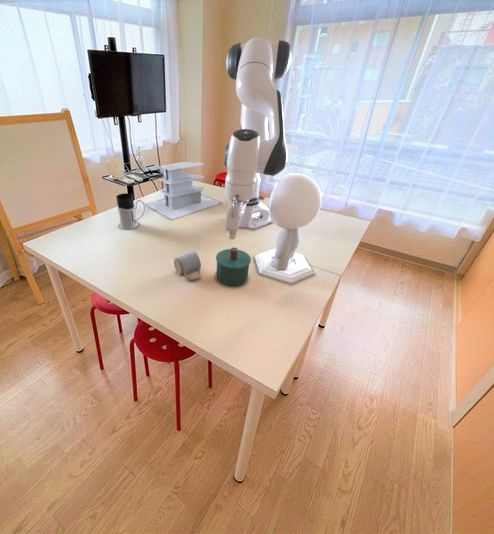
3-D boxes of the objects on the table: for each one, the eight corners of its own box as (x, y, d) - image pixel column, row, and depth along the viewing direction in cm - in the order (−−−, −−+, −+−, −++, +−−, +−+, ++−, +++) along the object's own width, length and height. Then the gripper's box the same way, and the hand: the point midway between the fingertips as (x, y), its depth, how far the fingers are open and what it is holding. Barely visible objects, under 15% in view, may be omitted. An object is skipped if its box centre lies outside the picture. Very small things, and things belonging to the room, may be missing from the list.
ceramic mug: (172, 269, 104) (172, 253, 100) (191, 263, 108) (191, 246, 103) (186, 284, 97) (186, 267, 92) (205, 277, 100) (206, 260, 96)
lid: (238, 248, 103) (239, 237, 100) (257, 265, 94) (259, 253, 91) (209, 256, 99) (210, 245, 96) (227, 274, 89) (227, 262, 87)
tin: (236, 265, 106) (238, 248, 102) (253, 281, 98) (255, 263, 94) (211, 273, 103) (211, 255, 98) (226, 290, 94) (227, 271, 90)
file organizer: (145, 204, 157) (141, 165, 145) (193, 191, 176) (192, 155, 163) (171, 219, 141) (169, 177, 129) (220, 203, 159) (222, 164, 147)
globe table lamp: (262, 246, 118) (276, 163, 98) (318, 261, 109) (345, 172, 89) (245, 269, 104) (257, 178, 84) (307, 289, 95) (337, 190, 75)
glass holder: (125, 220, 140) (120, 192, 131) (150, 223, 137) (147, 194, 128) (116, 228, 133) (111, 198, 124) (143, 231, 130) (139, 201, 121)
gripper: (245, 204, 73) (239, 248, 81) (253, 181, 89) (247, 220, 97) (222, 201, 74) (218, 245, 82) (234, 179, 90) (230, 218, 98)
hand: (234, 231), depth 90 cm, fingers open, 8 cm apart
